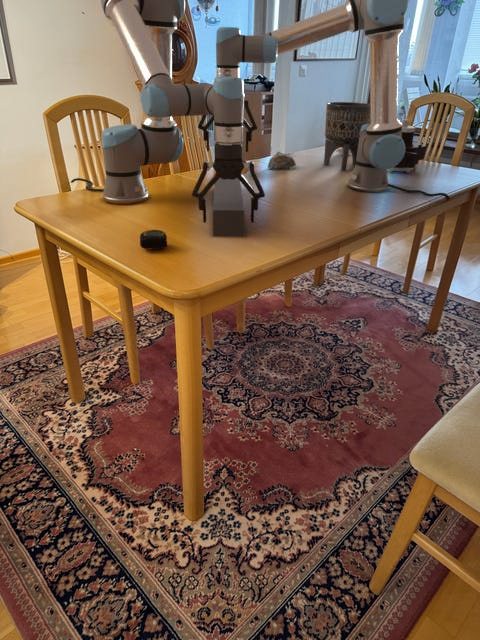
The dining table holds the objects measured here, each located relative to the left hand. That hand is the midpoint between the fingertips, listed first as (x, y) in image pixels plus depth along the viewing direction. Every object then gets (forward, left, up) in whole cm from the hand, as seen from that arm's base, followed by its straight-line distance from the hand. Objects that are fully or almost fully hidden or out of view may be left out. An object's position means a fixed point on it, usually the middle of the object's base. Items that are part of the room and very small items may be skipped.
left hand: (228, 221), depth 130 cm
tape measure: (-4, -24, -3) cm, 24 cm away
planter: (-20, +102, -3) cm, 104 cm away
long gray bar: (-14, +15, -3) cm, 21 cm away
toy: (-45, +56, -3) cm, 72 cm away
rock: (-38, +80, -3) cm, 88 cm away
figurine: (-35, +132, -3) cm, 136 cm away
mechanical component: (+1, +120, -3) cm, 120 cm away
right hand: (-27, +31, +12) cm, 43 cm away
